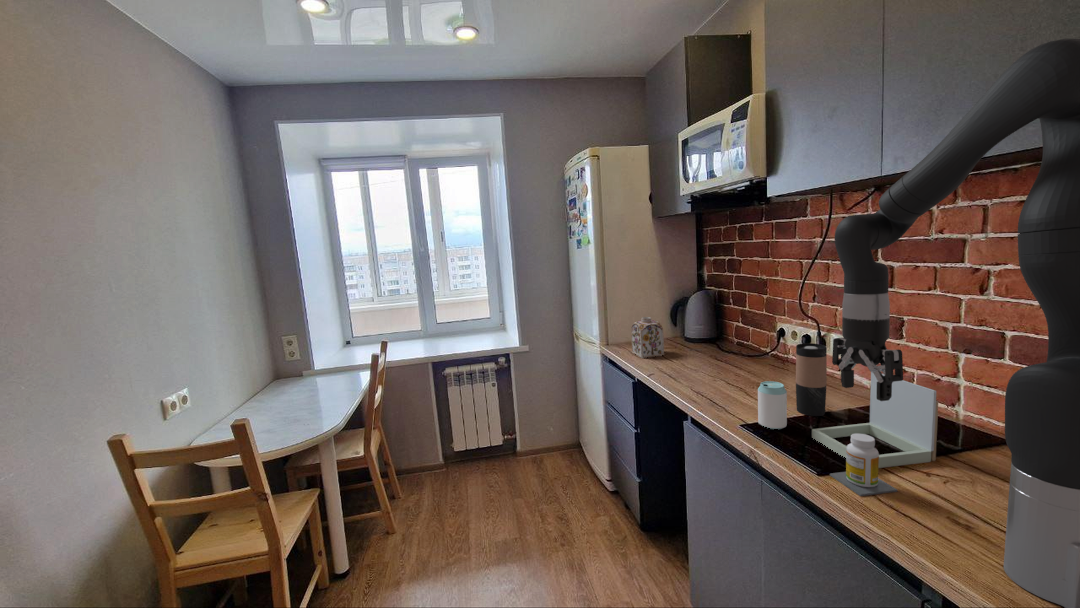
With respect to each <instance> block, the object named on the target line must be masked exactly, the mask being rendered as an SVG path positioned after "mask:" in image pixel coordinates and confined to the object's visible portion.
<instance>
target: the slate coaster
mask: <svg viewBox="0 0 1080 608" xmlns="http://www.w3.org/2000/svg"><path fill="white" fill-rule="evenodd" d="M829 476H830V477H832V478H833V479H835V480H836V481H837V482H839V483H840V484H842V485H843V486H844V487H846V488H847V489H849V490H850V491H852V492H853V493H855V494H856V495H858V496H859V497H863V496H864V497H866V496H872V495H873V496H874V495H881V494H890V493H896V492H898V489H897V488H896V487H894V486H893V485H890V484H889V483H887V482H885V480H882V479H880V478H879V477H878V485H877V486H875V487H861V486H858V485H855V484H853V483H851V482H850V481H848V480H847V478H846V471H840V472H833V473H829Z"/></svg>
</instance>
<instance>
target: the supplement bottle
mask: <svg viewBox="0 0 1080 608" xmlns="http://www.w3.org/2000/svg"><path fill="white" fill-rule="evenodd" d="M846 446H847V448H846V459H845V468H846V469H845V472H846V478H847V480H848V481H850V482H851V483H853V484H855V485H858V486H861V487H875V486H877V485H878V478H879V468H878V467H879V455H880V453H879V451H878V449H877V448H876V447H875V446H876V439H875V437H874V436H872V435H870V434H858V433H857V434H852V435H851V436H850V443H849V444H847V445H846Z"/></svg>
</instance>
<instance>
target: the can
mask: <svg viewBox="0 0 1080 608" xmlns="http://www.w3.org/2000/svg"><path fill="white" fill-rule="evenodd" d="M787 399H788V392H787V389H786V388H785V384H783V383H782V382H779V381H770V380H766V381H762V382H760V385H759V387H758V388H757V422H758V425H760V426H762V427H763V426H764V427H763V428H765V427H767V428H766V429H768V428H770V429H769V430H774V429H778V430H782V429H784V428H786V427H787V424H788V418H787V417H788V413H787V412H788V411H787V408H788V407H787V406H788V400H787Z"/></svg>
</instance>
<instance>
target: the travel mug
mask: <svg viewBox="0 0 1080 608" xmlns="http://www.w3.org/2000/svg"><path fill="white" fill-rule="evenodd" d="M795 346H796V347H795V397H796V398H795V399H796V400H795V403H796V411H797V412H798V413H800V414H801V415H805V416H808V417H809V416H810V417H820V416H824V415H825V414H826V405H827V403H826V400H827V382H828V381H827V379H828V378H827V376H828V375H827V366H828V365H827V356H828V355H827V352H828V351H827V350H828V349H827V346H826V345H823V344H820V343H810V342H808V343H807V342H806V343H805V342H804V343H798V344H796V345H795Z"/></svg>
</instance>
